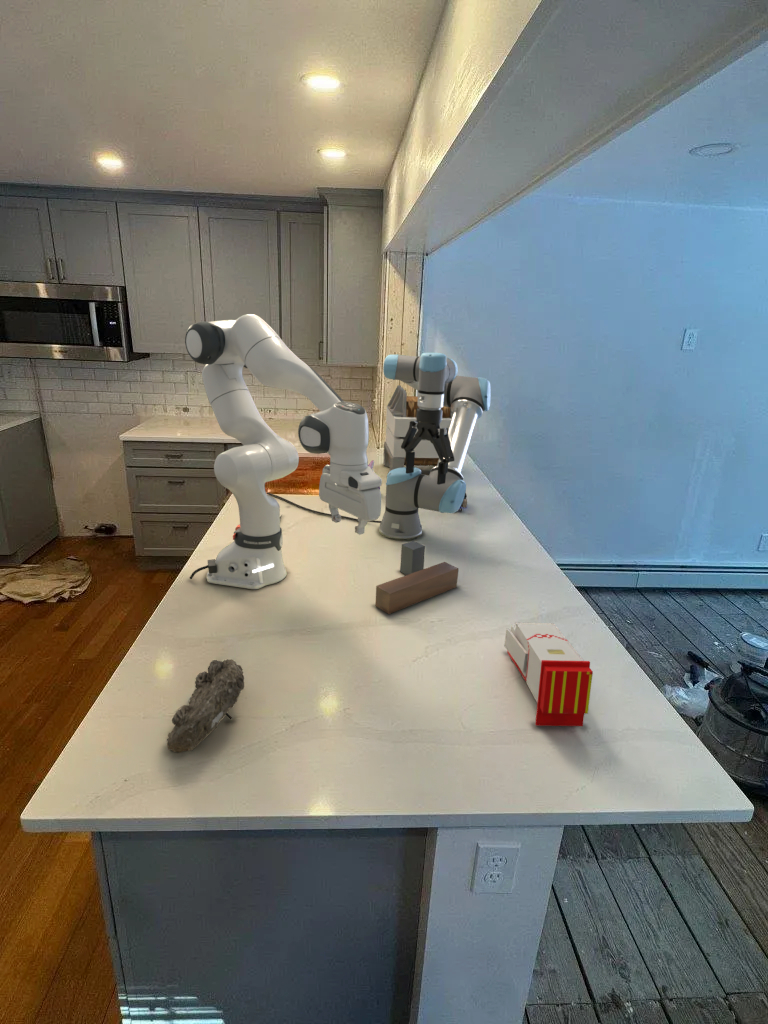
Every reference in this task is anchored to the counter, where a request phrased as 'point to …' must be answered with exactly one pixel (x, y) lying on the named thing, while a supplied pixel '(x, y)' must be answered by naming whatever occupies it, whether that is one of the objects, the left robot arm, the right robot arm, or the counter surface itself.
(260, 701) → the counter surface
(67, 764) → the counter surface
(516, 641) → the toy
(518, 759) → the counter surface
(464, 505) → the figurine character
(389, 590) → the walnut rail
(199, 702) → the fossil
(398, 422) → the white wooden box
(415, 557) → the grey block
